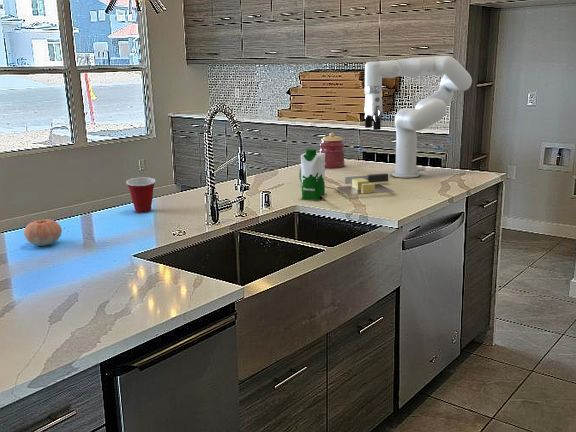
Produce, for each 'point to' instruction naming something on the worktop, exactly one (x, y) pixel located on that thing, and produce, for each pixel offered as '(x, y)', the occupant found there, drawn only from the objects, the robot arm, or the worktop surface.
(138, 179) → the plastic cup
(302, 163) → the milk carton
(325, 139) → the kitchen canister
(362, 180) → the butter
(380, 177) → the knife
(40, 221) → the pumpkin
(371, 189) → the butter slice
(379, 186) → the cutting board
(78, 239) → the worktop surface
